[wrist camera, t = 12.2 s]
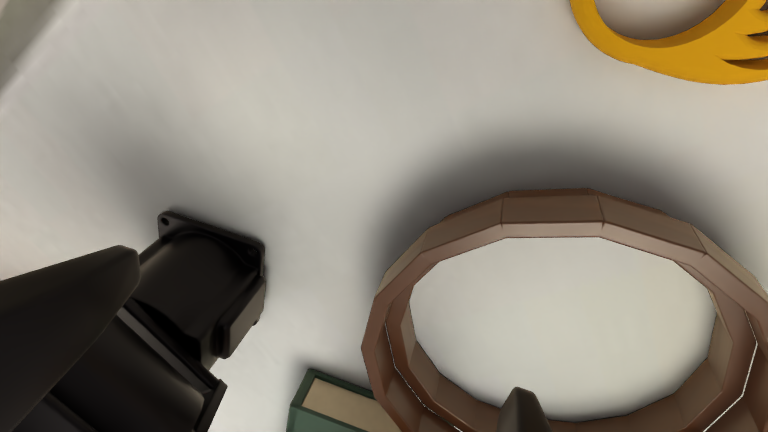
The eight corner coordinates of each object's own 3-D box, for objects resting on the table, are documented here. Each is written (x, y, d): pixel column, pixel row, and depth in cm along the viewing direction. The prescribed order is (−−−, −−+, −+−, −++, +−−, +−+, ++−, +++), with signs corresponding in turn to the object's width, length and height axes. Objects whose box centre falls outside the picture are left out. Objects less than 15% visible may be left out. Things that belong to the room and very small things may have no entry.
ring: (360, 373, 29) (339, 428, 26) (430, 123, 20) (411, 160, 16) (632, 473, 27) (647, 547, 24) (855, 251, 18) (931, 322, 15)
